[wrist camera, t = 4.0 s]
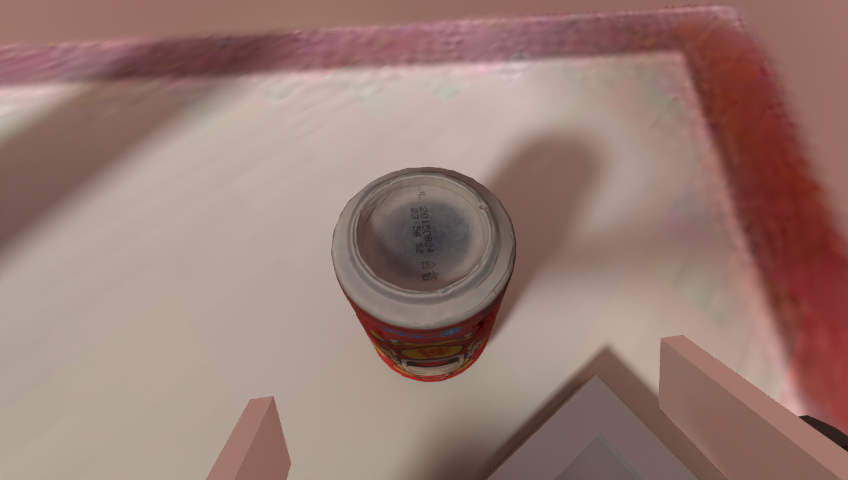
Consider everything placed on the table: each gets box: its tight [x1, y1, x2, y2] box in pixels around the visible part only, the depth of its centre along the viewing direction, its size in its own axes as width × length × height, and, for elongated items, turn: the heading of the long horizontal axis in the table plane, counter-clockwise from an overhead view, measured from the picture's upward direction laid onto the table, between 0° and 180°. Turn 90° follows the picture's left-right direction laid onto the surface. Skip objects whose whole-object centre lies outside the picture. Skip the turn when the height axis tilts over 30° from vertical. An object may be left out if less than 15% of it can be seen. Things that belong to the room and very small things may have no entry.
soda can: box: [331, 167, 516, 382], centre depth 20 cm, size 7×7×12 cm
